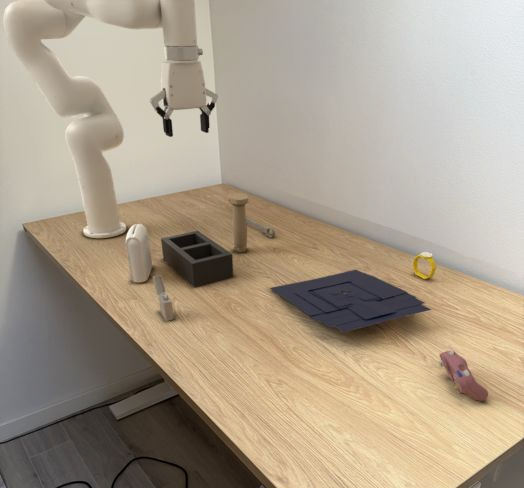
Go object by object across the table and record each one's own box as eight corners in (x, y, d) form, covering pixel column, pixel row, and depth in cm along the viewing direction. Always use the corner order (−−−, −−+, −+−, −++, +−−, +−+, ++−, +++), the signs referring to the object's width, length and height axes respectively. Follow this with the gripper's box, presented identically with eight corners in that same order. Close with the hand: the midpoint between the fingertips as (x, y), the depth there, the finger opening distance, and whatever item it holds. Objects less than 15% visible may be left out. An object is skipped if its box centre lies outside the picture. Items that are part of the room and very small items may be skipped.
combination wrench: (275, 227, 147) (238, 207, 160) (271, 227, 146) (235, 208, 160) (275, 239, 149) (238, 219, 162) (271, 240, 148) (235, 220, 162)
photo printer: (137, 266, 133) (129, 219, 126) (153, 266, 133) (147, 219, 126) (130, 283, 124) (121, 234, 117) (147, 283, 124) (140, 234, 117)
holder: (163, 259, 136) (160, 238, 133) (199, 251, 141) (197, 230, 137) (194, 287, 122) (192, 263, 119) (233, 276, 126) (232, 254, 123)
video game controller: (442, 376, 93) (431, 348, 89) (466, 365, 92) (456, 337, 88) (465, 411, 85) (453, 382, 81) (491, 400, 84) (481, 370, 80)
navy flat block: (335, 348, 96) (335, 330, 94) (269, 299, 121) (268, 284, 119) (438, 320, 104) (439, 303, 103) (356, 279, 129) (356, 265, 127)
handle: (244, 245, 144) (242, 191, 136) (253, 253, 139) (251, 198, 131) (228, 248, 142) (225, 194, 134) (236, 256, 137) (233, 200, 129)
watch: (408, 274, 126) (412, 251, 123) (416, 271, 127) (420, 248, 124) (427, 282, 122) (431, 259, 119) (435, 279, 123) (440, 256, 120)
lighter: (174, 319, 109) (169, 285, 105) (166, 321, 108) (161, 286, 104) (164, 305, 114) (159, 272, 110) (156, 306, 114) (152, 273, 110)
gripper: (208, 52, 125) (211, 128, 134) (140, 55, 117) (149, 134, 127) (222, 54, 119) (225, 133, 129) (151, 57, 112) (160, 140, 121)
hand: (187, 133), depth 128 cm, fingers open, 9 cm apart
